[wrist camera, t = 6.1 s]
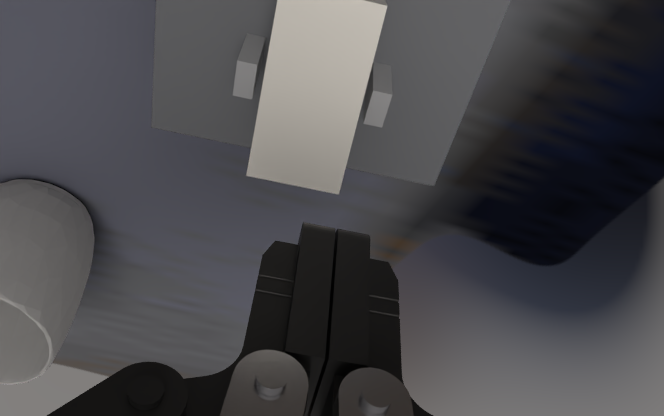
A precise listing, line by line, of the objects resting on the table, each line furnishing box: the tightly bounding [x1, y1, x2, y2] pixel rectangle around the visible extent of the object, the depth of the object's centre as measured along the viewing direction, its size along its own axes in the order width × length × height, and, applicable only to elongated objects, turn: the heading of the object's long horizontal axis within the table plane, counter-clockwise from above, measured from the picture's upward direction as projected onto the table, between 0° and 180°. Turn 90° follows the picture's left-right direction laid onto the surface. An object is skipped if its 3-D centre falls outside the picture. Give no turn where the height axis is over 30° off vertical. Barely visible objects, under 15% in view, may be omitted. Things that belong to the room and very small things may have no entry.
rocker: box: [246, 0, 387, 194], centre depth 25 cm, size 8×4×2 cm, turn 168°
